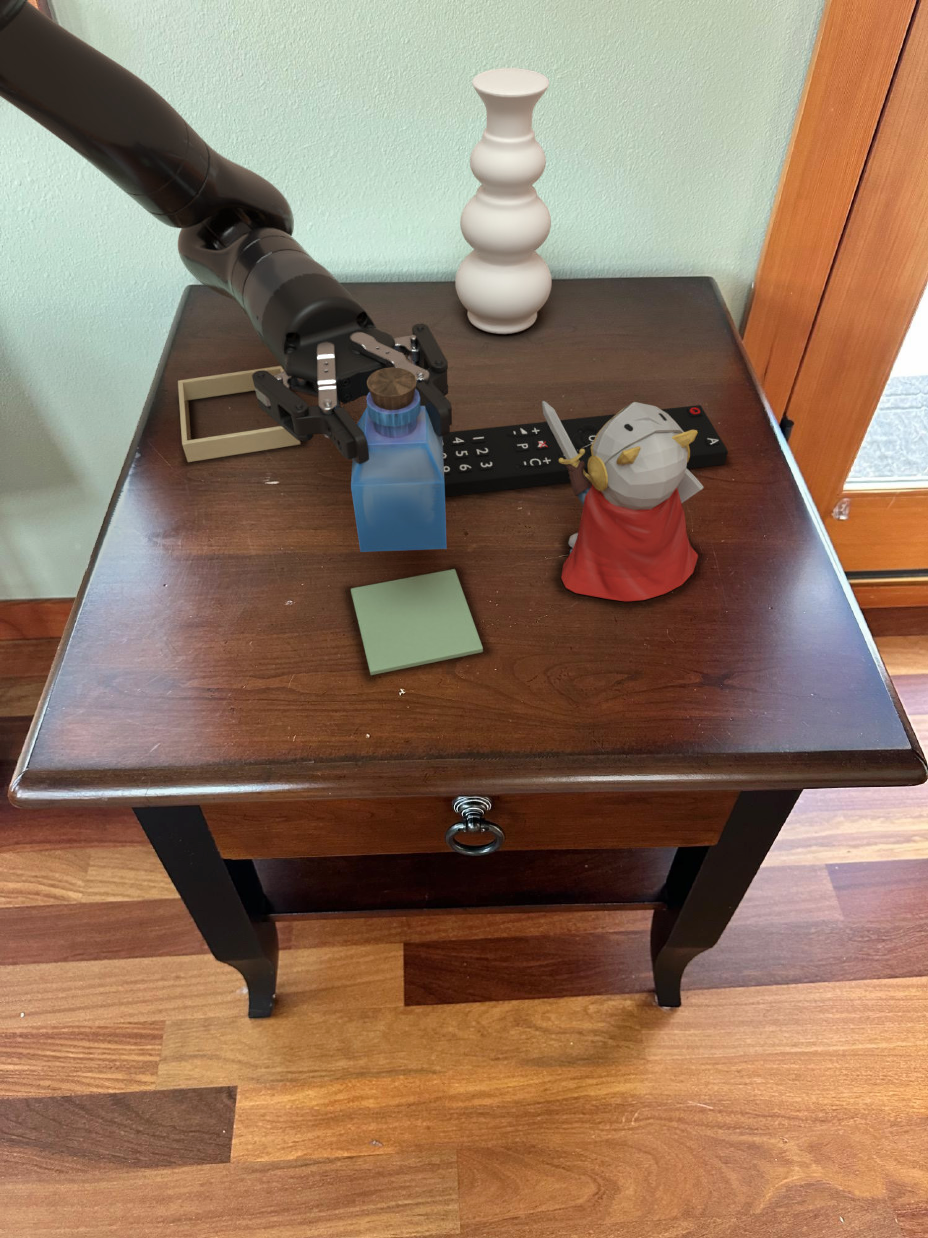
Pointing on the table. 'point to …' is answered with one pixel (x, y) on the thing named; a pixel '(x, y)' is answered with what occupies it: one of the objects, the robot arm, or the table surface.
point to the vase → (506, 208)
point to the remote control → (549, 452)
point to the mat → (414, 621)
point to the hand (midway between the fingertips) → (404, 437)
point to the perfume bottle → (398, 469)
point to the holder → (228, 442)
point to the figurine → (630, 506)
